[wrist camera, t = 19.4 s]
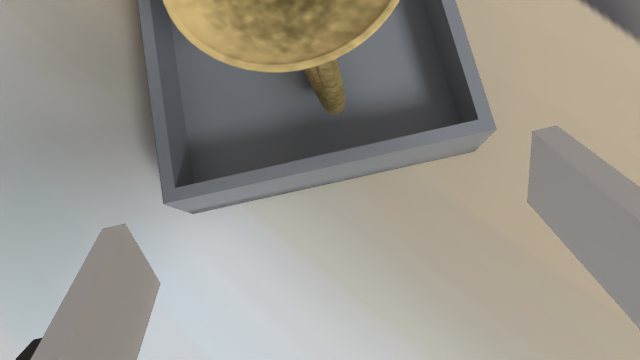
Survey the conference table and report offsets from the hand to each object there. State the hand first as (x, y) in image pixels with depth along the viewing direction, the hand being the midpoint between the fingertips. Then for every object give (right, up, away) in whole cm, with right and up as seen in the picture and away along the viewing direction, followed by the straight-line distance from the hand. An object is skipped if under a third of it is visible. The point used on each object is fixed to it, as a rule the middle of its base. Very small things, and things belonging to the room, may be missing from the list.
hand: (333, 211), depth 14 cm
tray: (-1, +9, +14) cm, 17 cm away
